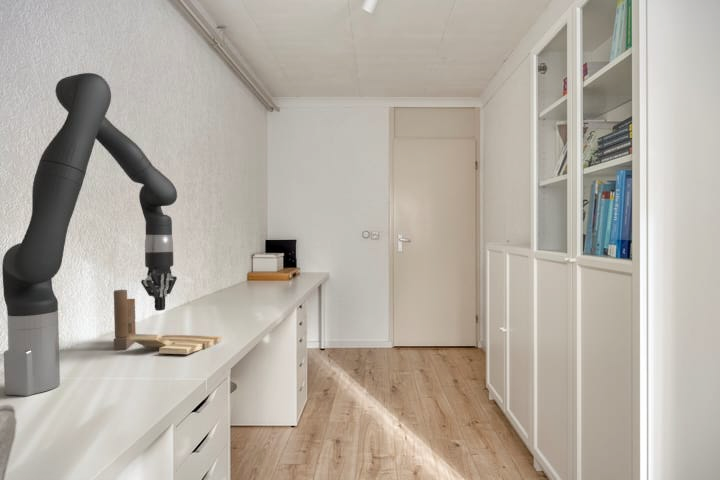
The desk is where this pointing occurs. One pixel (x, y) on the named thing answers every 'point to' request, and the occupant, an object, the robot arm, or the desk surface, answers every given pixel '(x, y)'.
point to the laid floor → (192, 340)
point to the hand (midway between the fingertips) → (160, 310)
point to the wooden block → (123, 320)
